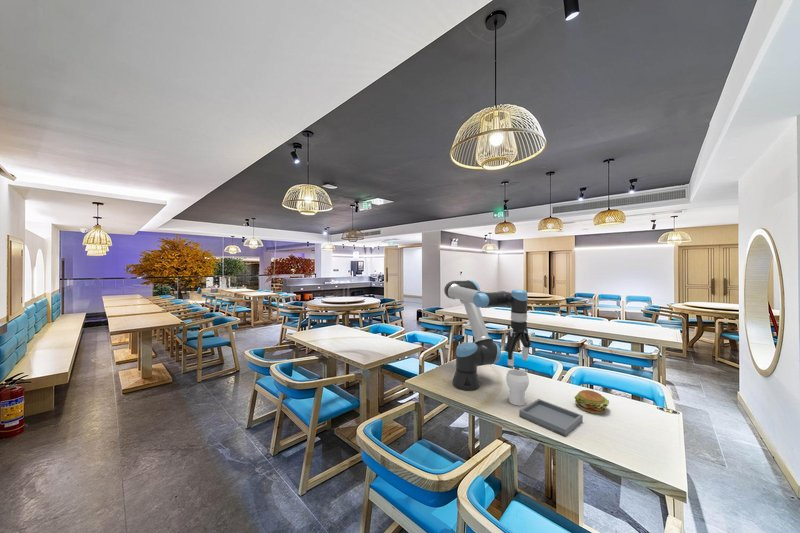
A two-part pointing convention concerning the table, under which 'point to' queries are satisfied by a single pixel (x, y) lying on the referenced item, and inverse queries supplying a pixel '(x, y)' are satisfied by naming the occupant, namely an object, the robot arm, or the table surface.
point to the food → (591, 401)
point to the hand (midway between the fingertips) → (518, 362)
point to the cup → (517, 386)
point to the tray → (551, 417)
